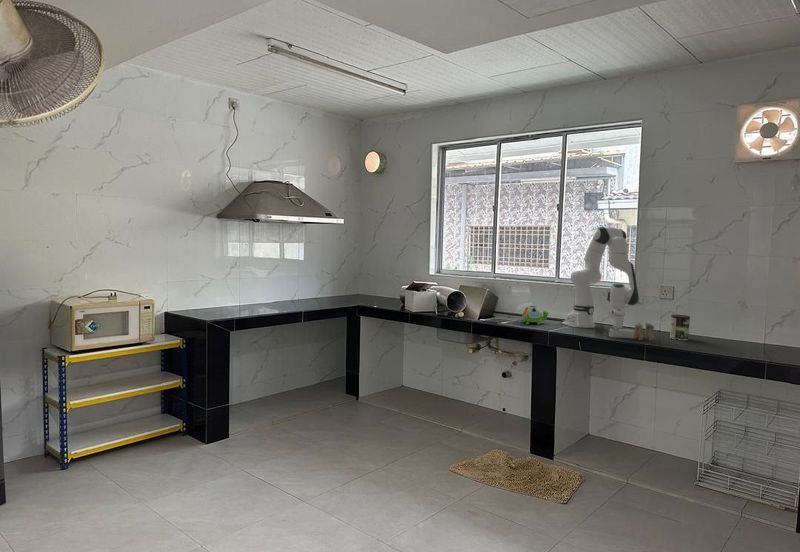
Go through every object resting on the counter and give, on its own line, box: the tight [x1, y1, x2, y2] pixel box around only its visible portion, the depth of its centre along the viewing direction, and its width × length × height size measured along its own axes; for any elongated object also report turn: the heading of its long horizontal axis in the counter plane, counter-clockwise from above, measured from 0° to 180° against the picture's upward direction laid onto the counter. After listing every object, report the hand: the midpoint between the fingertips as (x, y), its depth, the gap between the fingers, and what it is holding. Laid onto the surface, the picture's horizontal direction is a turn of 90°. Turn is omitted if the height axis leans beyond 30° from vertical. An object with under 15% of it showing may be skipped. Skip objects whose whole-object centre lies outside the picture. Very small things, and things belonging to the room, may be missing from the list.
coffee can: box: [669, 314, 691, 341], centre depth 335 cm, size 10×10×14 cm
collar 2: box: [644, 322, 655, 341], centre depth 333 cm, size 2×11×8 cm, turn 169°
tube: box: [608, 328, 639, 340], centre depth 336 cm, size 18×5×5 cm, turn 79°
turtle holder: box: [521, 305, 550, 325], centre depth 382 cm, size 12×18×12 cm
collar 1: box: [634, 322, 644, 341], centre depth 334 cm, size 2×11×8 cm, turn 169°
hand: (615, 333), depth 337 cm, fingers closed on tube, 4 cm apart
